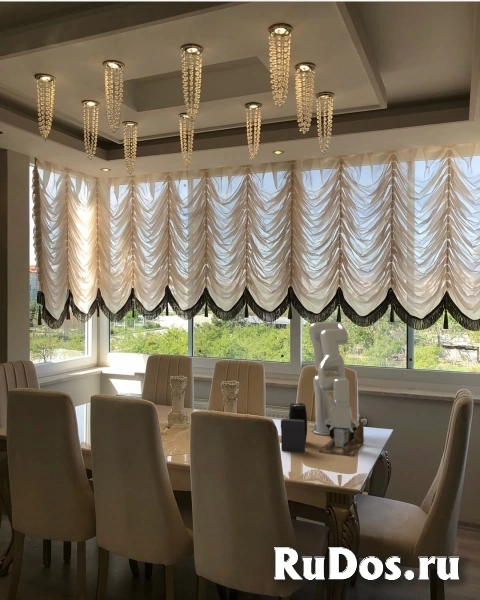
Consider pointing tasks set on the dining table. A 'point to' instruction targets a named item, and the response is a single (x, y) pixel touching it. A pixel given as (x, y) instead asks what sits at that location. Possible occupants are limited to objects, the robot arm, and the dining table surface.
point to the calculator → (293, 435)
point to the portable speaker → (299, 414)
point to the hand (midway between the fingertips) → (341, 438)
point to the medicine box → (341, 437)
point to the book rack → (350, 447)
